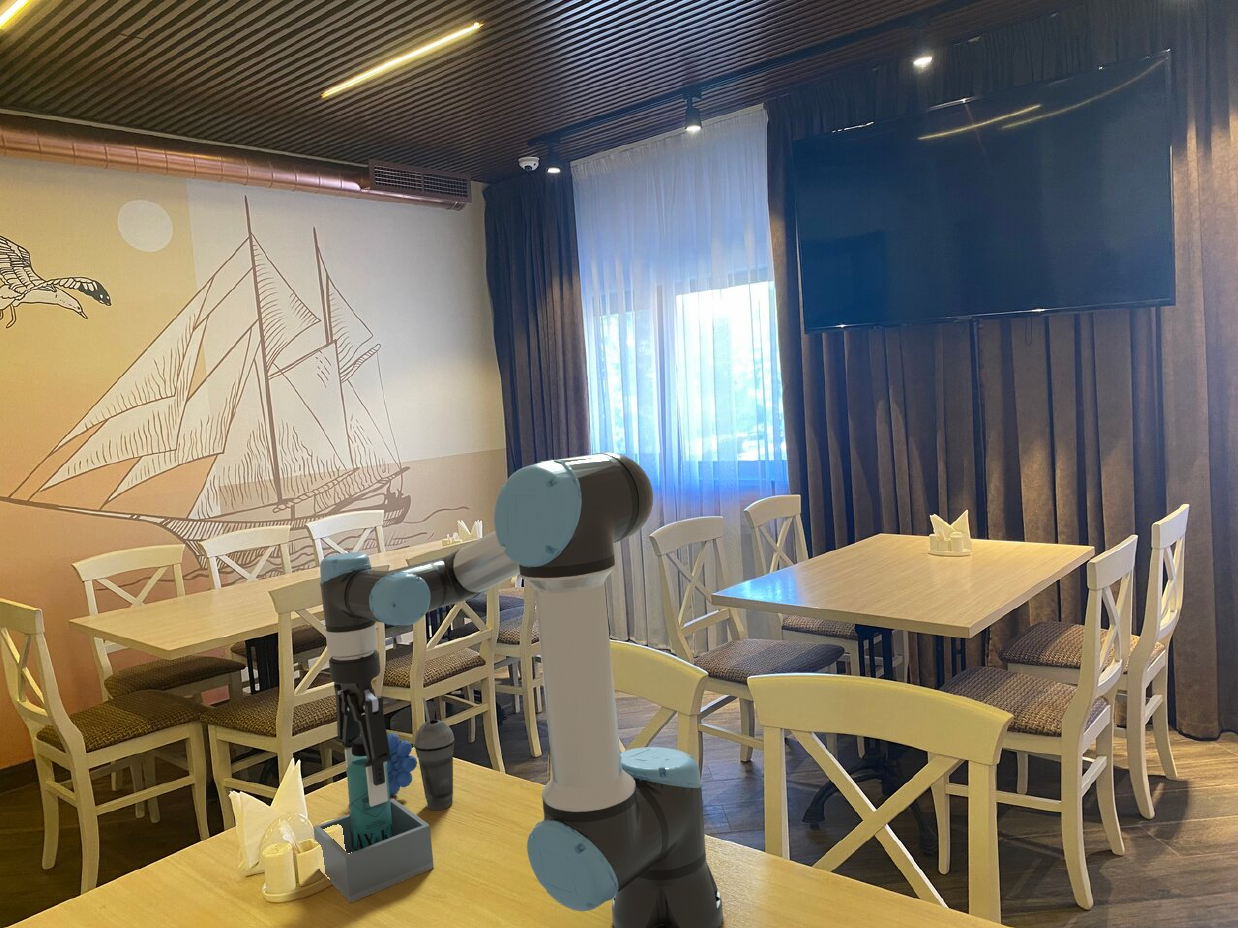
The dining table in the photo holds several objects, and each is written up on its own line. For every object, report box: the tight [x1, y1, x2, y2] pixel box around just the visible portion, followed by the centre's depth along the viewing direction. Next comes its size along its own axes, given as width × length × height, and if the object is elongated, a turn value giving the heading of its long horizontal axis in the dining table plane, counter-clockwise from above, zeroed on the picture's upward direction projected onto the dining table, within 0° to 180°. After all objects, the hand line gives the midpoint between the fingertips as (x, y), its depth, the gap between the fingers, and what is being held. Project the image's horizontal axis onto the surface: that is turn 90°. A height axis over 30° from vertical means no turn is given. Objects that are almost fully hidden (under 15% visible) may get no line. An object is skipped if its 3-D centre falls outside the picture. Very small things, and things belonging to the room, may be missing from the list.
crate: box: [313, 798, 435, 904], centre depth 143 cm, size 14×14×7 cm
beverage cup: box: [413, 697, 456, 811], centre depth 164 cm, size 7×7×20 cm
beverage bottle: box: [345, 735, 394, 852], centre depth 142 cm, size 6×7×20 cm
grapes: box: [386, 733, 418, 797], centre depth 171 cm, size 12×7×12 cm, turn 75°
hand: (367, 794), depth 143 cm, fingers open, 8 cm apart
